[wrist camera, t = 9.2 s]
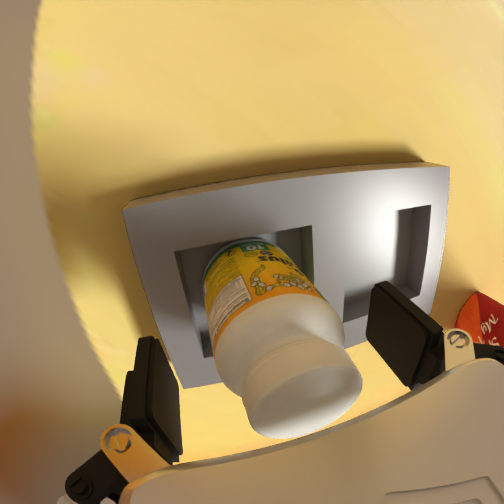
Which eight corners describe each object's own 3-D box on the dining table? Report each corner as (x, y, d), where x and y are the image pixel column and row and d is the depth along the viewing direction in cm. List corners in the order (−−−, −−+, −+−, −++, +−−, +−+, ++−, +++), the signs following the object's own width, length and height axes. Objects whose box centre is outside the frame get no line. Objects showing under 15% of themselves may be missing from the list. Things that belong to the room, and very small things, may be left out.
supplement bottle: (184, 289, 16) (192, 433, 7) (241, 216, 15) (314, 318, 6) (253, 329, 18) (303, 453, 9) (307, 267, 17) (401, 372, 9)
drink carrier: (132, 200, 14) (121, 210, 12) (425, 161, 17) (449, 166, 15) (182, 364, 19) (183, 389, 16) (413, 299, 22) (430, 313, 19)
